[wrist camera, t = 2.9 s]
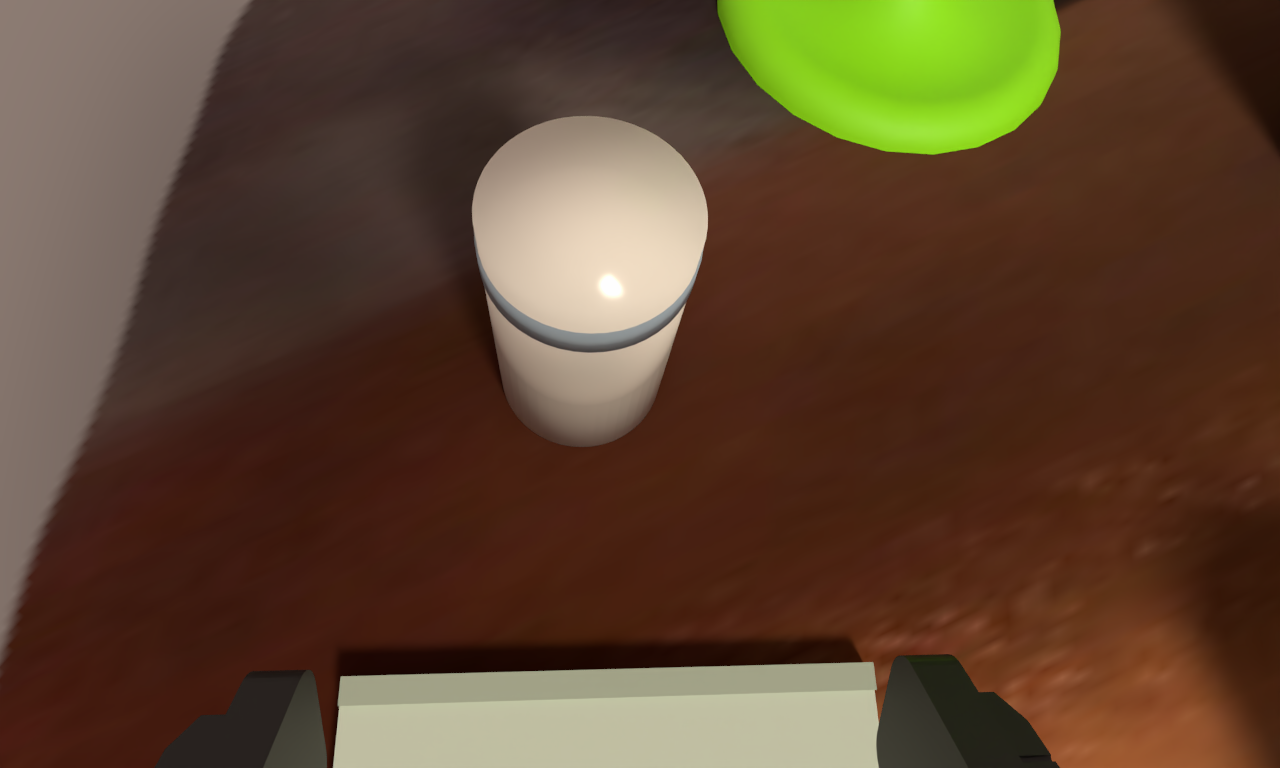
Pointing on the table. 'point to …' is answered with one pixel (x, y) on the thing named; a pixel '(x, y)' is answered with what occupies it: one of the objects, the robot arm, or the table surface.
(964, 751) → the robot arm
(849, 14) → the wineglass
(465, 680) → the mat
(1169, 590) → the table surface
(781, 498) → the table surface
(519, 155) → the cream domed container
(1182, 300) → the table surface
